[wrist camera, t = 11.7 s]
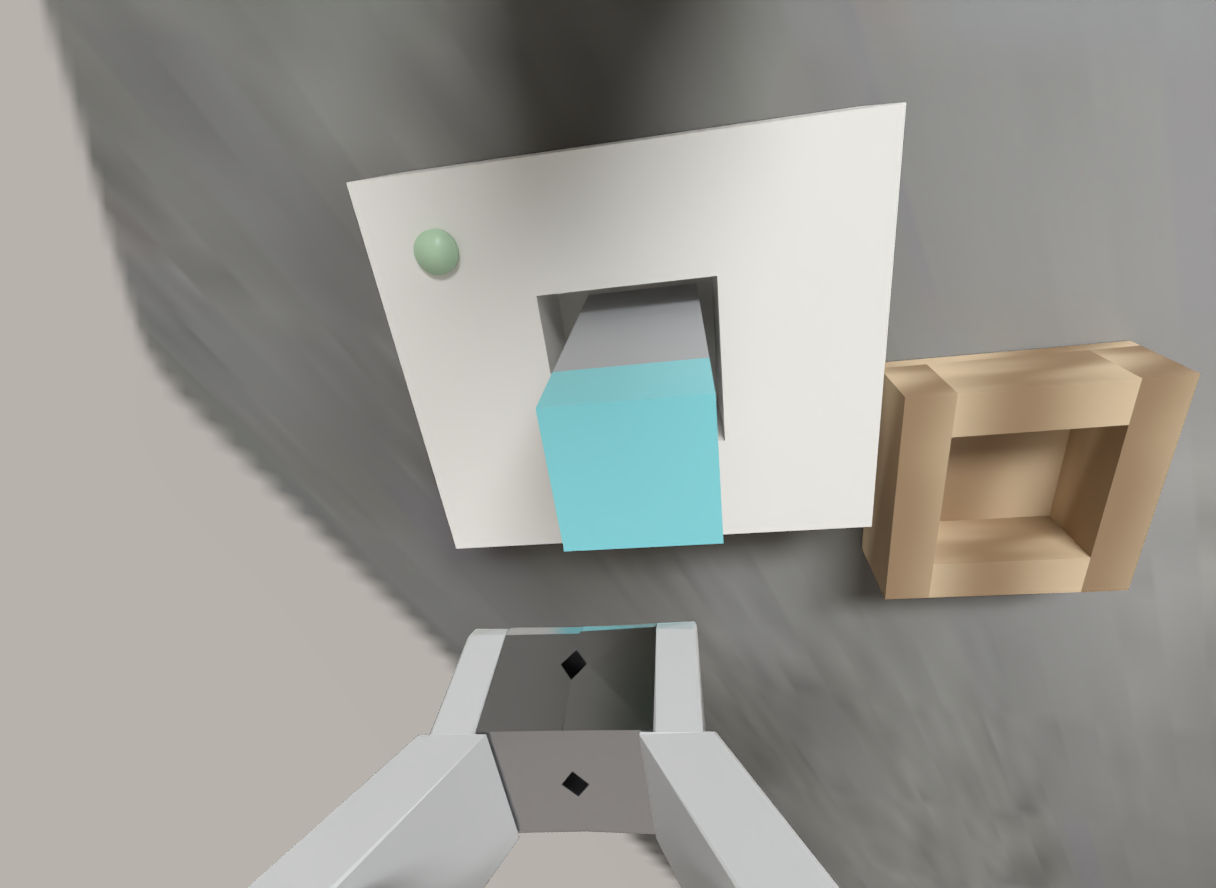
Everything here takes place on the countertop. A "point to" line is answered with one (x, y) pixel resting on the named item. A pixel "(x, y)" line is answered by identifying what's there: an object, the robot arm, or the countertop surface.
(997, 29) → the countertop surface
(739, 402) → the port
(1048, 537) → the square wooden tray
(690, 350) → the plug
